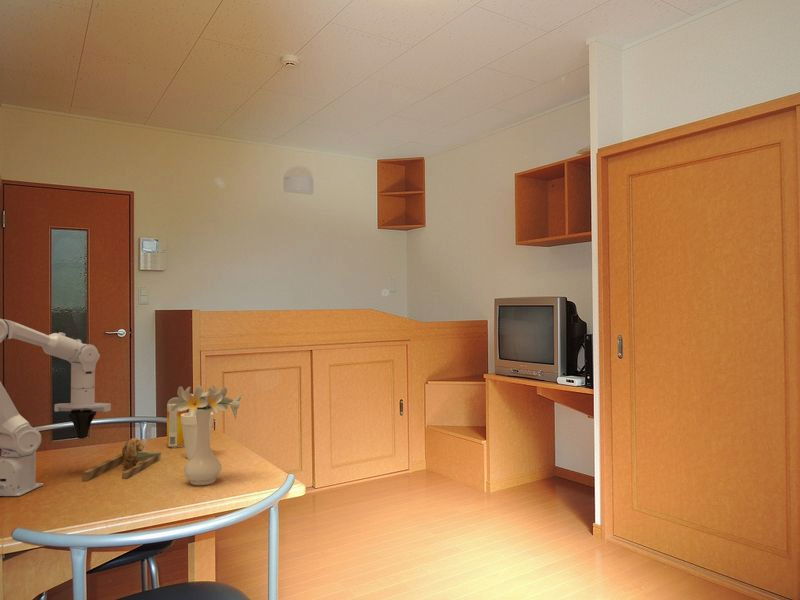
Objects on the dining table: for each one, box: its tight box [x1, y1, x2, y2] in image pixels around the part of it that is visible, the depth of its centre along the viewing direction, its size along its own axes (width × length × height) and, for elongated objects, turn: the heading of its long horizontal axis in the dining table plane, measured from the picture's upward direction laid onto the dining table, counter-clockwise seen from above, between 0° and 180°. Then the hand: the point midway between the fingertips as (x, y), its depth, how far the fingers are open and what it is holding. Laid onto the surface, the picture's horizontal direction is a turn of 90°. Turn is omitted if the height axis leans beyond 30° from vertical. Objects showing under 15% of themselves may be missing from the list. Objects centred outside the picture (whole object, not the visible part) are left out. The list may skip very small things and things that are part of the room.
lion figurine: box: [121, 437, 145, 472], centre depth 168 cm, size 15×5×9 cm, turn 32°
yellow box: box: [166, 403, 188, 448], centre depth 193 cm, size 6×6×15 cm
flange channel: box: [81, 450, 162, 482], centre depth 165 cm, size 22×11×2 cm, turn 178°
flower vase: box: [167, 384, 244, 486], centre depth 153 cm, size 13×18×25 cm
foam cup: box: [181, 411, 215, 459], centre depth 179 cm, size 10×9×13 cm
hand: (82, 437), depth 160 cm, fingers closed
